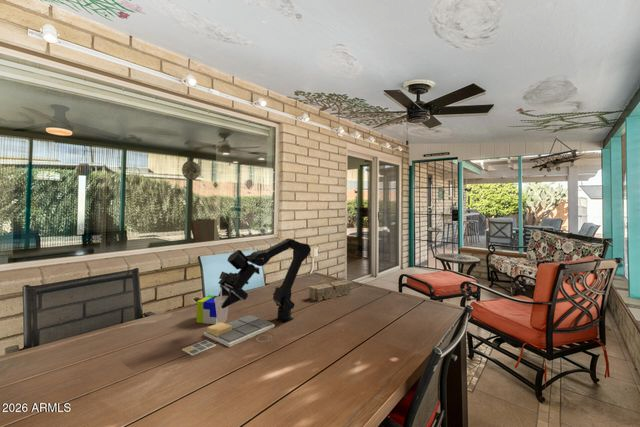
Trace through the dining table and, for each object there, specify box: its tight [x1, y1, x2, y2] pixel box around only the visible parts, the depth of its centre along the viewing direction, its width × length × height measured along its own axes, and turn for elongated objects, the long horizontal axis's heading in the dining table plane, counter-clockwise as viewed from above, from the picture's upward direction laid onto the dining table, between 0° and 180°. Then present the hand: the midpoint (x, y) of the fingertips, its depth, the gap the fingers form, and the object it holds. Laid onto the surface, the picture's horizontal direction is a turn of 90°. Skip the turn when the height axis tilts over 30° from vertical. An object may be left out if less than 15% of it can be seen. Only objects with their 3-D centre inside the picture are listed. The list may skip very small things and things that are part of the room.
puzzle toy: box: [196, 294, 220, 325], centre depth 142 cm, size 10×10×10 cm
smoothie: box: [214, 287, 229, 323], centre depth 124 cm, size 6×6×14 cm
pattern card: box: [181, 339, 217, 357], centre depth 114 cm, size 10×7×1 cm
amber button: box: [206, 322, 232, 337], centre depth 126 cm, size 7×7×2 cm
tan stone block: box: [308, 279, 353, 302], centre depth 185 cm, size 8×8×29 cm
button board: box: [203, 314, 276, 348], centre depth 130 cm, size 25×17×2 cm
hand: (218, 305), depth 123 cm, fingers closed on smoothie, 6 cm apart
